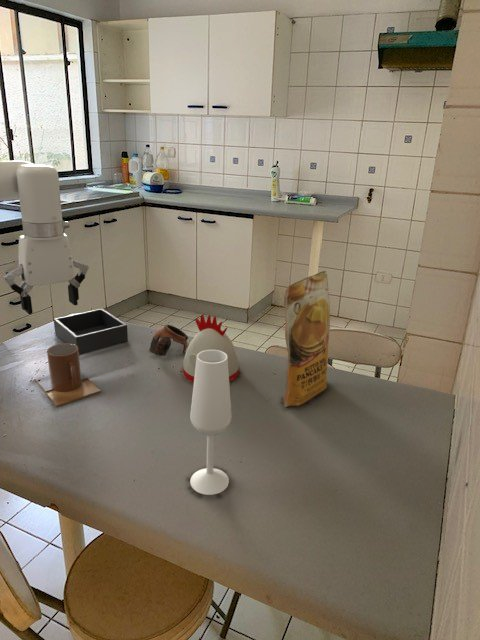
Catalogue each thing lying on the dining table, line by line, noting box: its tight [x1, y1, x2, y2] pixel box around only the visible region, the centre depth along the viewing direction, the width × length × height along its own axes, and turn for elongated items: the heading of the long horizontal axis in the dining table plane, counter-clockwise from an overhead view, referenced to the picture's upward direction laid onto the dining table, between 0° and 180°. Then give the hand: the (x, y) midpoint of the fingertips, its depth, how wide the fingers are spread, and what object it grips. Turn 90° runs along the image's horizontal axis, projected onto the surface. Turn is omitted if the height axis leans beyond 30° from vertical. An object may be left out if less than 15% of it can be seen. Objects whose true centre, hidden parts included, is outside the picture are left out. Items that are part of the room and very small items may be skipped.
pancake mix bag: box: [282, 270, 331, 408], centre depth 103 cm, size 7×19×28 cm, turn 137°
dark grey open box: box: [53, 308, 129, 356], centre depth 129 cm, size 15×14×6 cm
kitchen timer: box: [182, 314, 240, 383], centre depth 113 cm, size 14×14×15 cm
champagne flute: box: [189, 350, 233, 496], centre depth 75 cm, size 7×7×24 cm
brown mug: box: [46, 342, 83, 392], centre depth 104 cm, size 9×7×9 cm
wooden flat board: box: [33, 378, 102, 408], centre depth 107 cm, size 14×10×1 cm
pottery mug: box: [149, 324, 189, 357], centre depth 124 cm, size 12×10×8 cm
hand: (51, 307), depth 100 cm, fingers open, 9 cm apart
